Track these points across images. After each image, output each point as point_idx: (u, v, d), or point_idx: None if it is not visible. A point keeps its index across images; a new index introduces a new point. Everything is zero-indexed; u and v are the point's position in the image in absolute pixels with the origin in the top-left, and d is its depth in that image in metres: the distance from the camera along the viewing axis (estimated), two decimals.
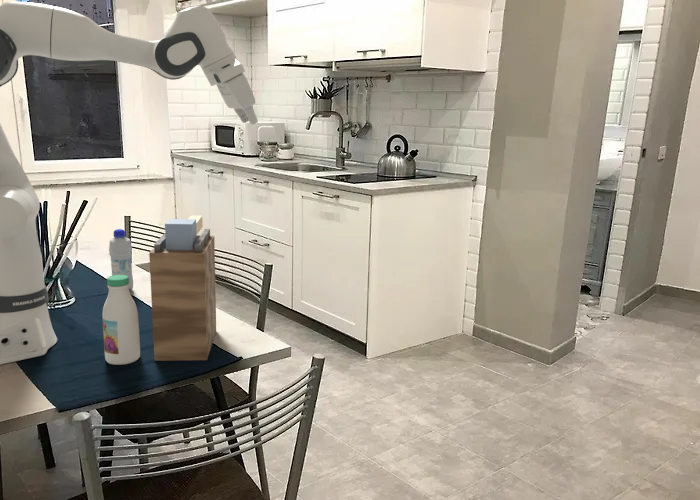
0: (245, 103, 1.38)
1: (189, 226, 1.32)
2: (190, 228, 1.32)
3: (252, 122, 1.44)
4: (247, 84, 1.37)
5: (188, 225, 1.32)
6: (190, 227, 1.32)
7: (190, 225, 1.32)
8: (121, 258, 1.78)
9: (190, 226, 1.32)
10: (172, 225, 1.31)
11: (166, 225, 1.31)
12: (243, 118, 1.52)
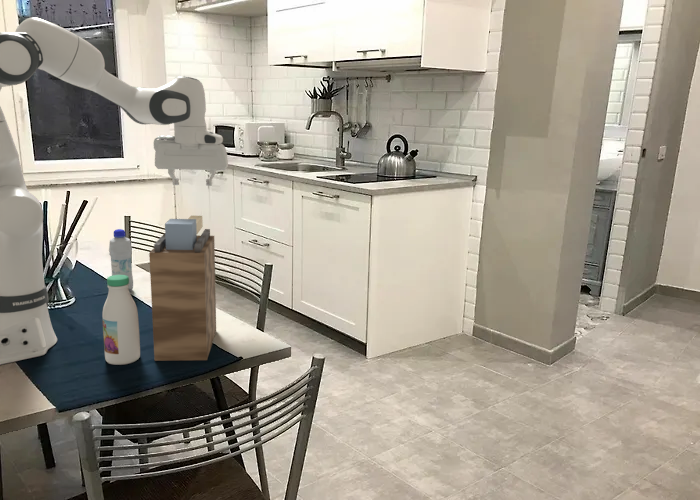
0: (227, 165, 1.66)
1: (189, 226, 1.32)
2: (190, 228, 1.32)
3: (211, 183, 1.67)
4: (226, 152, 1.68)
5: (188, 225, 1.32)
6: (190, 227, 1.32)
7: (190, 225, 1.32)
8: (121, 258, 1.78)
9: (190, 226, 1.32)
10: (172, 225, 1.31)
11: (166, 225, 1.31)
12: (177, 180, 1.67)
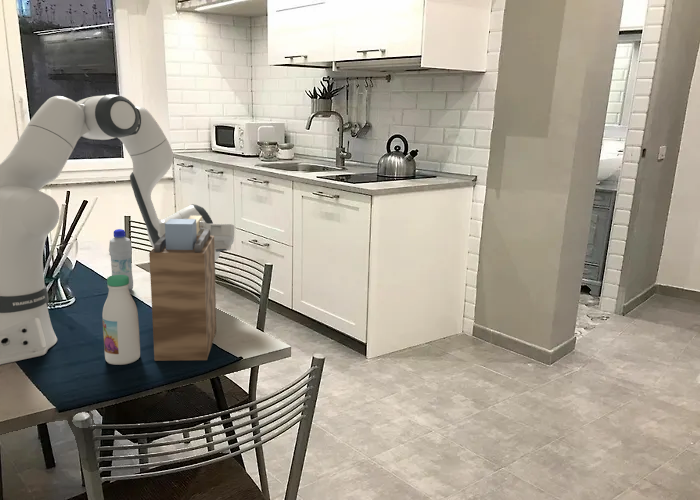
0: None
1: (189, 226, 1.32)
2: (190, 228, 1.32)
3: (205, 222, 1.53)
4: None
5: (188, 225, 1.32)
6: (190, 227, 1.32)
7: (190, 225, 1.32)
8: (121, 258, 1.78)
9: (190, 226, 1.32)
10: (172, 225, 1.31)
11: (166, 225, 1.31)
12: None
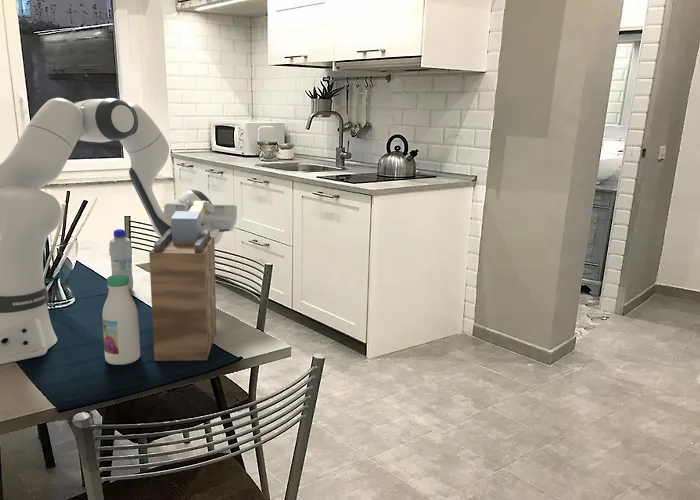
0: (236, 209, 1.65)
1: (194, 220, 1.38)
2: (195, 222, 1.38)
3: (208, 202, 1.59)
4: (235, 221, 1.68)
5: (193, 219, 1.38)
6: (195, 221, 1.38)
7: (195, 219, 1.38)
8: (121, 258, 1.78)
9: (195, 220, 1.38)
10: (178, 219, 1.38)
11: (172, 219, 1.38)
12: (192, 203, 1.60)
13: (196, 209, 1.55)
